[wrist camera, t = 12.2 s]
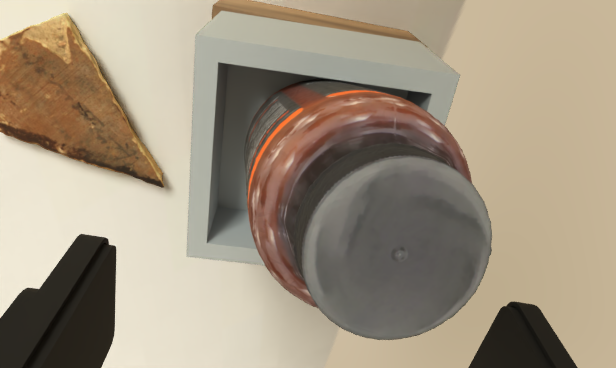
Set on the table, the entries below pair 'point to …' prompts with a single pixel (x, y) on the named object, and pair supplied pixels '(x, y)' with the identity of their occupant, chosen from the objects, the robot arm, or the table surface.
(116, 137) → the shard
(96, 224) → the table surface
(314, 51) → the tower top
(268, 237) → the supplement bottle
